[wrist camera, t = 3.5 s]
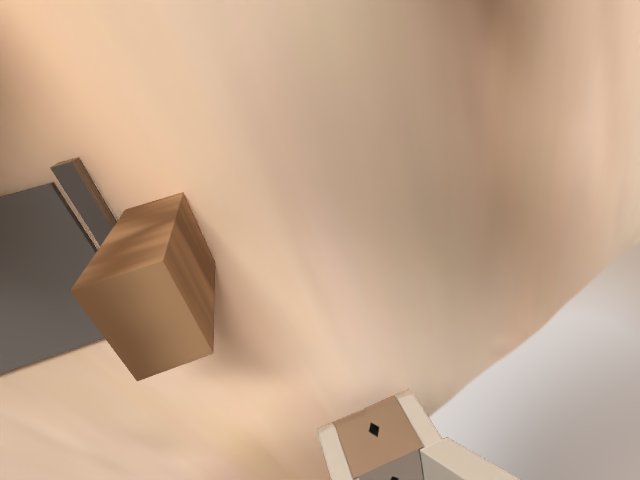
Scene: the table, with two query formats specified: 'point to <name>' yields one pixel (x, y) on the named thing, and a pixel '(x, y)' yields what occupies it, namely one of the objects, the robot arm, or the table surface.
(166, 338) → the walnut block
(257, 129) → the table surface
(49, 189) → the mat
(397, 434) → the robot arm
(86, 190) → the rail
